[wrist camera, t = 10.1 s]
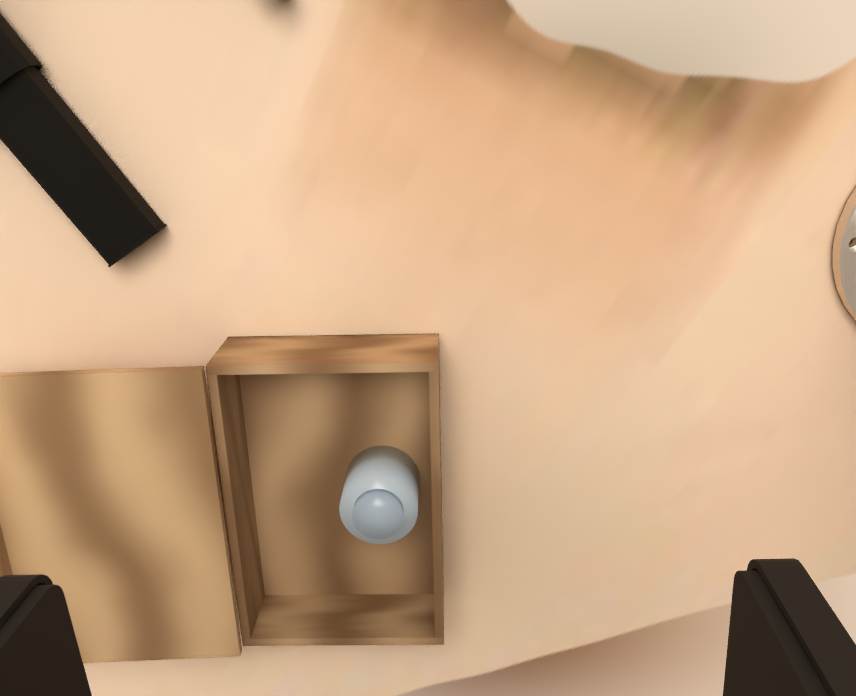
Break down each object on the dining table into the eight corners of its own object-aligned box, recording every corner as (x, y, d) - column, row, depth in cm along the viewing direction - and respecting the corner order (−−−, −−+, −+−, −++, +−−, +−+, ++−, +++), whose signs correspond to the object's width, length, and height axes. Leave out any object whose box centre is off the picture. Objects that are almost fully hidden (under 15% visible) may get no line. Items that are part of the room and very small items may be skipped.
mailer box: (438, 333, 44) (438, 362, 39) (443, 595, 50) (443, 644, 46) (228, 336, 44) (205, 366, 40) (259, 596, 50) (242, 645, 46)
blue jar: (418, 444, 45) (416, 482, 41) (420, 509, 47) (418, 550, 43) (344, 445, 46) (335, 483, 42) (349, 509, 47) (340, 551, 43)
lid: (-68, 388, 37) (-47, 374, 39) (11, 681, 44) (26, 658, 45) (195, 379, 38) (204, 365, 39) (236, 672, 44) (242, 649, 46)
